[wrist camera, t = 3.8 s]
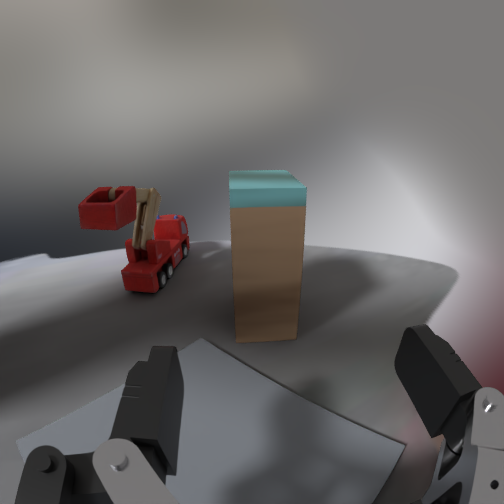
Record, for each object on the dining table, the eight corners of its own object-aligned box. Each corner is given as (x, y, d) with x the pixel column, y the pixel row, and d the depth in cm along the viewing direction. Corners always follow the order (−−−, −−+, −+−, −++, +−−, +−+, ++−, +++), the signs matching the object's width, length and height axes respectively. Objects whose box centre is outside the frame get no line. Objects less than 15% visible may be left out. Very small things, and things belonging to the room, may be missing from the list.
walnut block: (296, 339, 20) (306, 188, 16) (236, 343, 19) (229, 189, 15) (282, 292, 25) (286, 170, 21) (233, 295, 25) (229, 171, 21)
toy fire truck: (192, 249, 33) (186, 162, 29) (138, 324, 21) (113, 195, 17) (165, 248, 34) (156, 163, 30) (102, 318, 21) (74, 197, 18)
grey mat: (196, 661, 1) (195, 663, 1) (19, 444, 10) (15, 441, 10) (402, 449, 11) (405, 445, 11) (202, 341, 19) (201, 337, 19)
